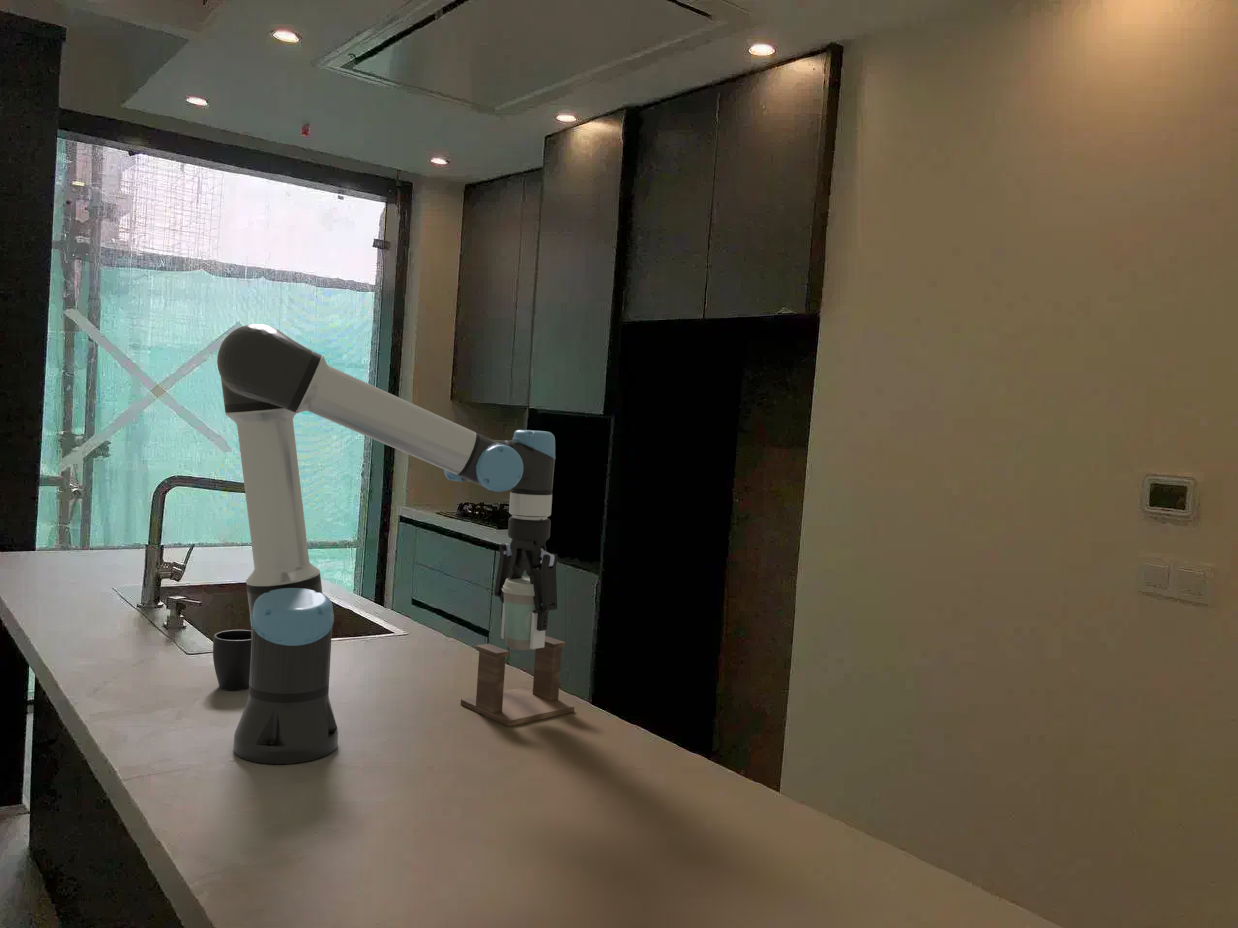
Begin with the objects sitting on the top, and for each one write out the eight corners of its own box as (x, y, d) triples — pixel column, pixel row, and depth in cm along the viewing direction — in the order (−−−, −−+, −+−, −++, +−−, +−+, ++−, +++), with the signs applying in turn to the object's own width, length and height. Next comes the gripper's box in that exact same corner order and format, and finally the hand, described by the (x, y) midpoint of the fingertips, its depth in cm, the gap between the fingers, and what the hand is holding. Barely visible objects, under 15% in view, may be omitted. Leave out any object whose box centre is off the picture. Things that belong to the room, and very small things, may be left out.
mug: (287, 685, 180) (289, 634, 180) (223, 695, 172) (225, 642, 171) (266, 674, 186) (268, 625, 186) (203, 684, 177) (205, 632, 177)
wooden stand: (506, 726, 166) (511, 658, 165) (458, 704, 176) (462, 640, 175) (575, 711, 177) (580, 647, 176) (526, 691, 187) (531, 630, 186)
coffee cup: (523, 654, 170) (527, 586, 169) (488, 645, 175) (492, 578, 174) (555, 647, 177) (560, 581, 176) (521, 637, 182) (525, 574, 181)
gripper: (584, 523, 170) (575, 652, 171) (511, 509, 184) (503, 628, 186) (551, 525, 165) (542, 658, 166) (478, 510, 179) (471, 632, 180)
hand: (522, 642), depth 176 cm, fingers closed on coffee cup, 8 cm apart
